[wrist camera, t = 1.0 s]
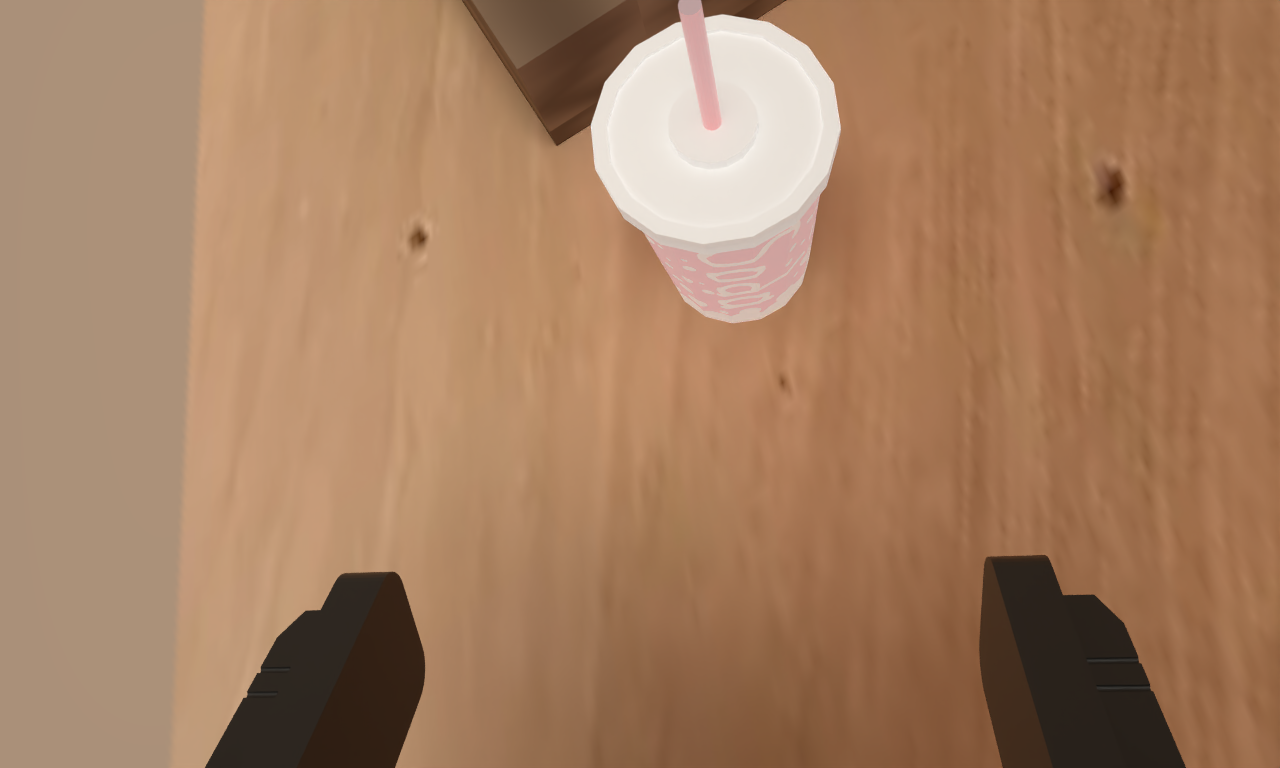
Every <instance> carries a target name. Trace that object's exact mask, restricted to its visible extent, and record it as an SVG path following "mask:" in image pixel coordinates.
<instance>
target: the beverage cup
mask: <svg viewBox="0 0 1280 768" xmlns="http://www.w3.org/2000/svg"><path fill="white" fill-rule="evenodd" d="M678 9H679V14H680V19H681V22H678V23H675V24H673V25H671V26H670V27H668V28H666V29H664V30H663V31H661V32H659V33H657V34H656V35H654V36H652V37H651V38H649V39H647V40H645V41H644V42H642V43H640V44H638V45H637V46H635V47H634V48H633V49H632V50H631V52H630V53H629V54H628V55H627V56H626V57H625V59H624V60H623V61H622V62H621V63H620V65H619V66H618V67H617V68H616V69H615V71H614V72H613V73H612V74H611V75H610V77H609V78H608V79H607V80H606V81H605V83H604V86H603V89H602V92H601V95H600V98H599V101H598V105H597V108H596V111H595V114H594V117H593V120H592V123H591V132H592V142H593V152H594V163H595V169H596V172H597V174H598V175H599V177H600V179H601V180H602V182H603V184H604V186H605V187H606V189H607V191H608V192H609V194H610V196H611V198H612V199H613V201H614V203H615V204H616V206H617V208H618V210H619V211H620V213H621V214H622V216H623V218H624V219H625V220H627V221H628V222H630V223H631V224H632V225H634V226H635V227H637V228H638V229H639V230H641V231H642V232H643V233H644V234H645V236H646V238H647V239H648V241H649V243H650V244H651V246H652V248H653V249H654V251H655V253H656V254H657V256H658V258H659V259H660V261H661V263H662V264H663V266H664V268H665V269H666V271H667V273H668V274H669V276H670V278H671V279H672V281H673V283H674V284H675V286H676V288H677V289H678V291H679V293H680V294H681V296H682V298H683V299H684V301H685V302H686V303H688V304H689V305H691V306H692V307H693V308H695V309H696V310H697V311H699V312H700V313H702V314H703V315H704V316H706V317H709V318H713V319H717V320H721V321H726V322H730V323H738V322H745V321H752V320H759V319H762V318H764V317H765V316H767V315H769V314H771V313H773V312H774V311H776V310H778V309H780V308H781V307H783V306H785V305H786V303H787V302H788V301H789V300H790V298H791V297H792V296H793V295H794V293H795V292H796V291H797V290H798V288H799V287H800V286H801V285H802V282H803V279H804V275H805V271H806V268H807V264H808V260H809V256H810V250H811V244H812V238H813V232H814V226H815V220H816V214H817V209H818V203H819V197H820V194H821V193H822V191H823V190H824V189H825V188H826V186H827V183H828V179H829V176H830V172H831V169H832V165H833V161H834V158H835V154H836V151H837V147H838V143H839V142H838V140H839V136H840V132H841V126H840V120H839V114H838V108H837V102H836V95H835V89H834V83H833V82H832V80H831V79H830V77H829V76H828V74H827V73H826V72H825V70H824V69H823V67H822V66H821V64H820V63H819V61H818V60H817V58H816V57H815V56H814V54H813V53H812V51H811V50H810V48H809V47H808V46H807V45H805V44H804V43H802V42H800V41H799V40H797V39H795V38H794V37H792V36H791V35H789V34H787V33H786V32H784V31H782V30H781V29H779V28H778V27H776V26H774V25H773V24H771V23H769V22H764V21H759V20H753V19H747V18H741V17H735V16H729V15H724V14H722V15H716V16H711V17H706V18H704V14H703V8H702V3H701V0H679V3H678Z"/></svg>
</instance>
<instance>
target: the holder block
mask: <svg viewBox="0 0 1280 768" xmlns="http://www.w3.org/2000/svg"><path fill="white" fill-rule="evenodd" d="M462 1H463V3H464V4H465V6H466V7H467V9H468V10H469V12H470V13H471V15H472V16H473V18H474V19H475V21H476V23H477V24H478V26H479V27H480V29H481V30H482V32H483V33H484V35H485V36H486V38H487V39H488V41H489V42H490V44H491V46H492V47H493V49H494V50H495V52H496V53H497V55H498V56H499V58H500V59H501V61H502V62H503V64H504V65H505V67H506V69H507V70H508V72H509V73H510V75H511V76H512V78H513V79H514V81H515V82H516V84H517V85H518V87H519V88H520V90H521V92H522V93H523V95H524V96H525V98H526V99H527V101H528V102H529V104H530V105H531V107H532V108H533V110H534V111H535V113H536V115H537V116H538V118H539V119H540V121H541V122H542V124H543V125H544V127H545V128H546V130H547V131H548V133H549V134H550V136H551V138H552V139H553V141H554V142H555V144H556V145H558V144H560V143H562V142H563V141H565V140H566V139H568V138H569V137H571V136H573V135H574V134H576V133H577V132H579V131H580V130H582V129H584V128H585V127H587V126H588V125H590V124H591V123H592V120H593V117H594V114H595V111H596V108H597V105H598V101H599V98H600V95H601V92H602V89H603V86H604V83H605V81H606V80H607V79H608V78H609V77H610V75H611V74H612V73H613V72H614V71H615V69H616V68H617V67H618V66H619V65H620V63H621V62H622V61H623V60H624V59H625V57H626V56H627V55H628V54H629V53H630V52H631V50H632V49H633V48H634V47H635V46H637V45H638V44H640V43H642V42H644V41H645V40H647V39H649V38H651V37H652V36H654V35H656V34H657V33H659V32H661V31H663V30H664V29H666V28H668V27H670V26H671V25H673V24H675V23H678V22H681V19H680V14H679V9H678V3H679V0H462ZM783 1H785V0H701V3H702V8H703V14H704V18H706V17H711V16H716V15H722V14H724V15H729V16H735V17H741V18H747V19H753V20H755V19H757V18H758V17H760V16H761V15H763V14H765V13H766V12H768V11H769V10H771V9H772V8H774V7H776V6H777V5H779V4H780V3H782V2H783Z"/></svg>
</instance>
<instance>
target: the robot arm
mask: <svg viewBox="0 0 1280 768" xmlns="http://www.w3.org/2000/svg"><path fill="white" fill-rule="evenodd" d="M979 651H980V667H981V675H982V682H983V688H984V692H985V697H986V701H987V705H988V709H989V713H990V717H991V721H992V725H993V729H994V733H995V737H996V741H997V745H998V749H999V753H1000V758H1001V762H1002V766H1003V768H1186V767H1185V764H1184V762H1183V760H1182V757H1181V755H1180V753H1179V750H1178V748H1177V746H1176V743H1175V741H1174V739H1173V736H1172V734H1171V732H1170V729H1169V727H1168V725H1167V722H1166V720H1165V718H1164V715H1163V713H1162V711H1161V708H1160V706H1159V704H1158V701H1157V699H1156V697H1155V694H1154V692H1153V691H1151V689H1150V683H1149V681H1148V678H1147V676H1146V674H1145V671H1144V669H1143V667H1142V664H1139V661H1138V655H1137V653H1136V650H1135V648H1134V646H1133V643H1132V641H1131V639H1130V636H1129V634H1128V632H1127V629H1126V627H1125V625H1124V623H1123V622H1122V621H1121V620H1120V619H1119V618H1118V617H1117V616H1116V615H1115V614H1114V613H1113V612H1112V611H1111V610H1109V609H1108V608H1107V607H1106V606H1105V605H1104V604H1103V603H1102V602H1101V601H1100V600H1099V599H1098V598H1097V597H1096V596H1095V595H1063V594H1062V592H1061V589H1060V586H1059V584H1058V581H1057V578H1056V575H1055V573H1054V570H1053V567H1052V565H1051V562H1050V560H1049V558H1048V557H1047V556H1045V555H1033V556H998V557H987V558H986V560H985V564H984V575H983V592H982V608H981V625H980V642H979ZM424 679H425V658H424V651H423V647H422V644H421V641H420V638H419V634H418V631H417V628H416V625H415V621H414V618H413V615H412V612H411V608H410V605H409V602H408V599H407V596H406V592H405V589H404V586H403V583H402V580H401V578H400V576H399V575H398V574H397V573H395V572H368V573H344V574H342V575H340V576H339V577H338V578H337V580H336V582H335V583H334V585H333V587H332V589H331V591H330V593H329V595H328V597H327V599H326V601H325V603H324V605H323V606H322V608H321V610H313V611H305V612H304V613H303V614H302V615H301V616H300V617H298V618H297V619H296V620H295V621H294V622H293V623H292V624H291V625H290V626H289V627H288V628H287V629H286V630H285V631H284V632H282V633H281V634H280V635H279V636H278V637H277V639H276V641H275V642H274V644H273V646H272V648H271V650H270V651H269V653H268V655H267V657H266V659H265V660H264V662H263V664H262V666H261V673H257V675H256V677H255V678H254V680H253V682H252V684H251V686H250V687H249V689H248V691H247V693H248V695H247V698H243V700H242V702H241V704H240V705H239V707H238V709H237V711H236V713H235V714H234V716H233V718H232V720H231V722H230V723H229V725H228V727H227V729H226V731H225V732H224V734H223V736H222V738H221V740H220V741H219V743H218V745H217V747H216V749H215V750H214V752H213V754H212V756H211V758H210V759H209V761H208V763H207V765H206V767H205V768H395V766H396V763H397V760H398V758H399V755H400V752H401V749H402V747H403V744H404V741H405V739H406V736H407V733H408V730H409V728H410V725H411V722H412V719H413V717H414V714H415V711H416V708H417V706H418V703H419V700H420V697H421V694H422V691H423V686H424Z"/></svg>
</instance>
